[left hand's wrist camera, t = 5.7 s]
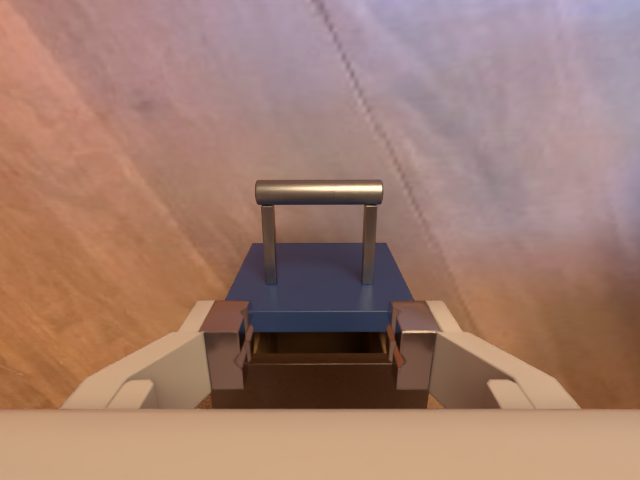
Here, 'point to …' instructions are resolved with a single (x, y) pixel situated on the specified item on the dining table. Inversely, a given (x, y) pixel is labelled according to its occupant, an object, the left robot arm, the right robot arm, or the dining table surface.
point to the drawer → (319, 276)
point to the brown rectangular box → (319, 383)
